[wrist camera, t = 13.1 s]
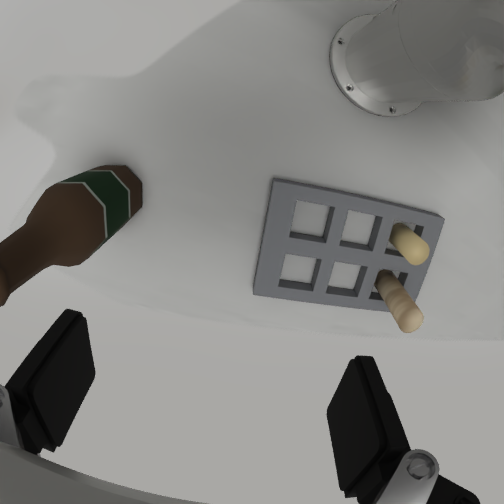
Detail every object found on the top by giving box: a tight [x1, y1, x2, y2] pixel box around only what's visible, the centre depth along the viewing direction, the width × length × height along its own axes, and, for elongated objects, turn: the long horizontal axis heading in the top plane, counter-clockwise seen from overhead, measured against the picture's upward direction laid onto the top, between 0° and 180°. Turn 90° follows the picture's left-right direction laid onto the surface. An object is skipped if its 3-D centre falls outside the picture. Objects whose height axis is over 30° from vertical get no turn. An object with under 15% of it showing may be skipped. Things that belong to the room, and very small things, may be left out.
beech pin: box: [374, 269, 424, 333], centre depth 36 cm, size 3×3×10 cm
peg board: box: [253, 178, 445, 312], centre depth 36 cm, size 22×14×6 cm, turn 81°
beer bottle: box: [0, 165, 142, 307], centre depth 26 cm, size 8×8×24 cm
